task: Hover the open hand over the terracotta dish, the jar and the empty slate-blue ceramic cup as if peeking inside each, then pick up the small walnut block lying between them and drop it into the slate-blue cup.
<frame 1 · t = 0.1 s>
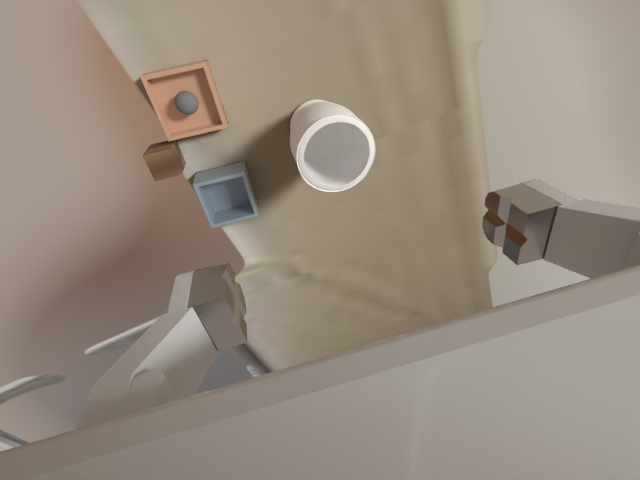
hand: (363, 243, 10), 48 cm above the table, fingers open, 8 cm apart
dish: (188, 99, 50), on the table
jar: (314, 125, 56), on the table
block: (168, 154, 54), on the table
ball: (188, 100, 50), point 1 cm above the table, touching dish
cup: (228, 188, 59), on the table
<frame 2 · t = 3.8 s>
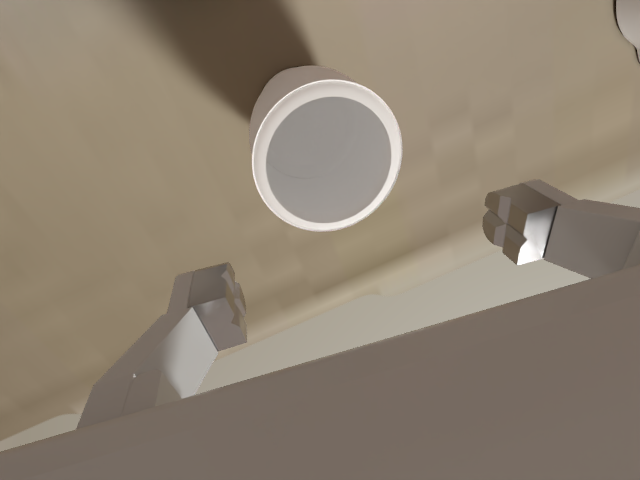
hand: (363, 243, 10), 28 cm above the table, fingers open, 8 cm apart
jar: (298, 112, 35), on the table
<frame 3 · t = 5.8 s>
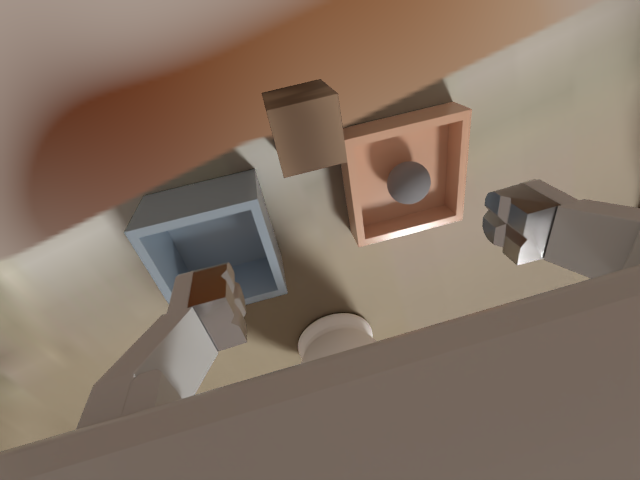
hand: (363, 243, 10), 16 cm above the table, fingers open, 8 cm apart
dish: (397, 171, 27), on the table
jar: (334, 337, 37), on the table
block: (297, 116, 23), on the table
ball: (400, 174, 27), point 1 cm above the table, touching dish
cup: (219, 228, 27), on the table
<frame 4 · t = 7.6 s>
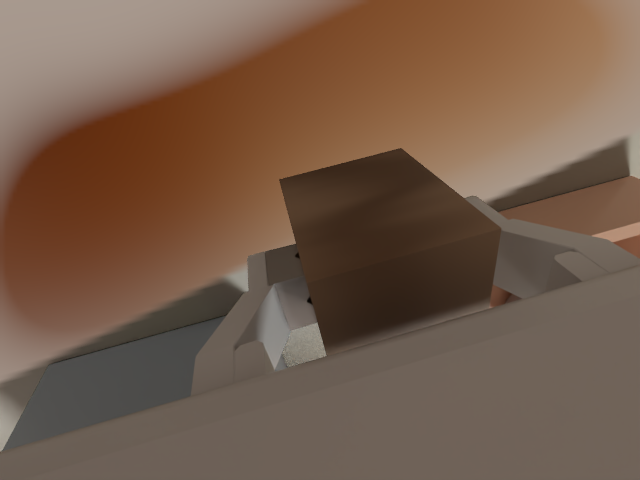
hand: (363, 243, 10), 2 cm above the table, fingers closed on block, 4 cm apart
dish: (509, 287, 16), on the table
block: (349, 216, 12), on the table, touching gripper
cup: (198, 392, 15), on the table
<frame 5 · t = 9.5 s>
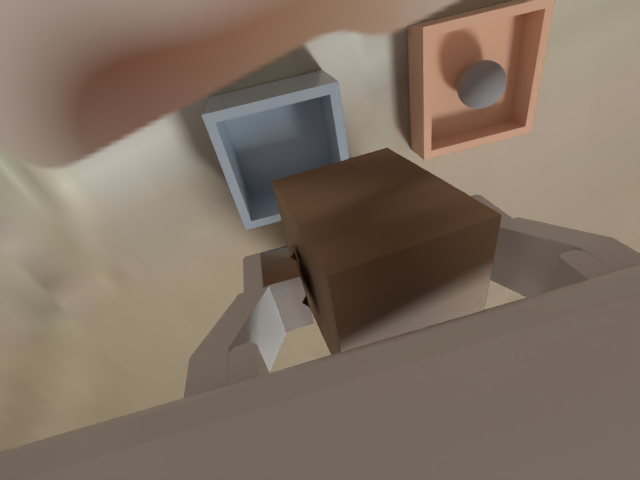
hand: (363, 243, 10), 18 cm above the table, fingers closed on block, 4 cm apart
dish: (464, 80, 26), on the table
block: (338, 216, 12), point 16 cm above the table, tilted 9°, touching gripper
ball: (468, 81, 26), point 1 cm above the table, touching dish
cup: (280, 139, 26), on the table
when the fingers open (9 cm above the table, at t = 11.6 s): block drops 6 cm, resting on cup.
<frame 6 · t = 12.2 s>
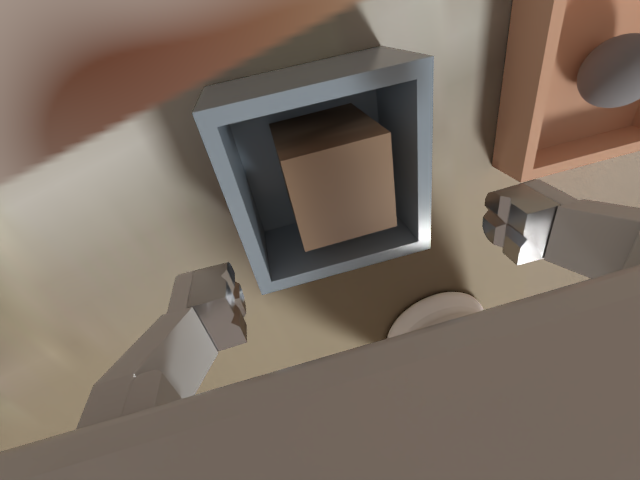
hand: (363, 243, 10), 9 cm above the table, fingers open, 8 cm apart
dish: (580, 66, 18), on the table
jar: (431, 326, 28), on the table
block: (318, 153, 17), point 1 cm above the table, touching cup
ball: (589, 68, 17), point 1 cm above the table, touching dish
cup: (311, 152, 17), on the table
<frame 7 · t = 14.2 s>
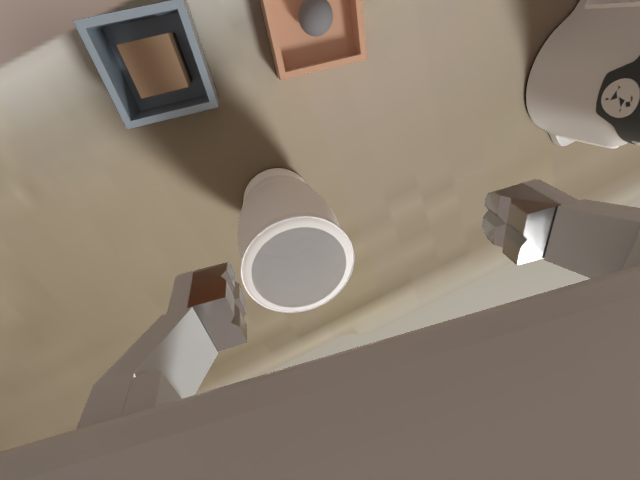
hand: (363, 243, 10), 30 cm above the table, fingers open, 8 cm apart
dish: (310, 17, 33), on the table
jar: (276, 199, 43), on the table
block: (162, 61, 32), point 1 cm above the table, touching cup
ball: (311, 16, 33), point 1 cm above the table, touching dish
cup: (161, 63, 32), on the table
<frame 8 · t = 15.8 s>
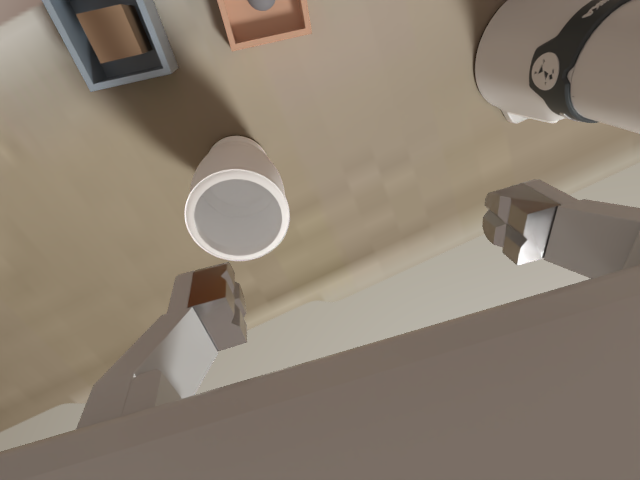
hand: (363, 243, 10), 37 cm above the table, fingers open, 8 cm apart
jar: (238, 165, 46), on the table
block: (125, 32, 35), point 1 cm above the table, touching cup
cup: (124, 34, 36), on the table
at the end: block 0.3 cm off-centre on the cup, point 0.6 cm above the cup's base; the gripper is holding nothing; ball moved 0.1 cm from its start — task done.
